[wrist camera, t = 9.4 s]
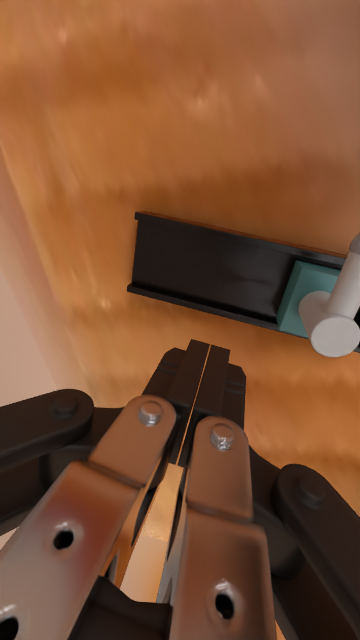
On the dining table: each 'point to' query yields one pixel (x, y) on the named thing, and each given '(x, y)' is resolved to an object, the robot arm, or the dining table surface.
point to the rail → (218, 268)
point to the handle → (324, 304)
